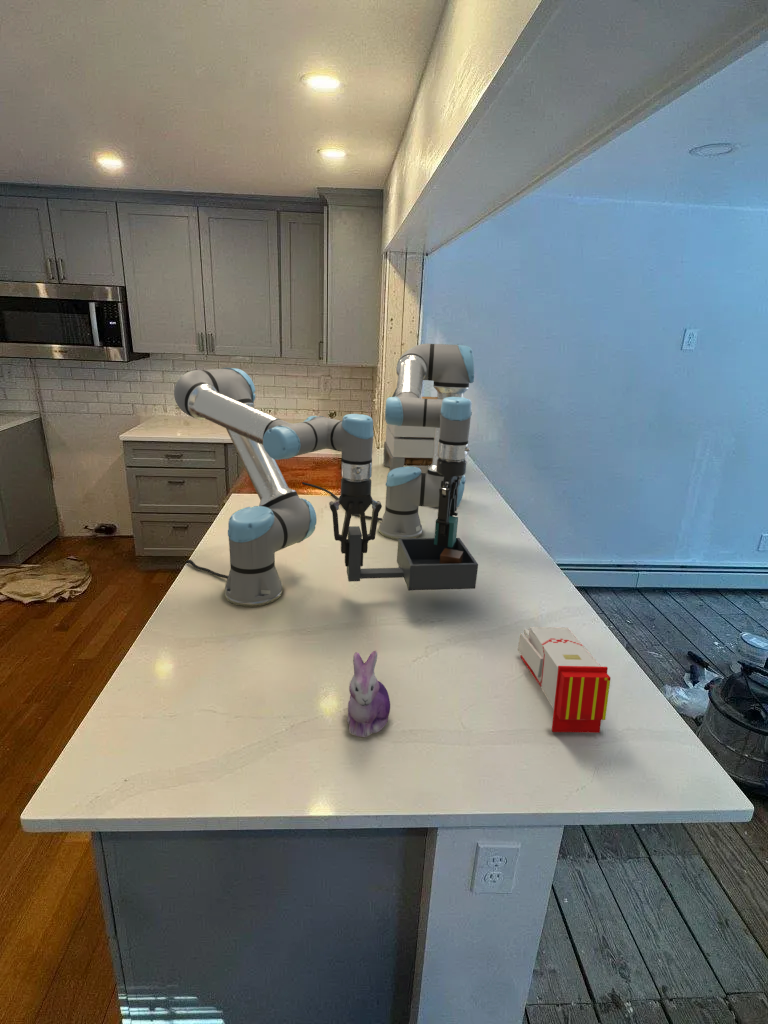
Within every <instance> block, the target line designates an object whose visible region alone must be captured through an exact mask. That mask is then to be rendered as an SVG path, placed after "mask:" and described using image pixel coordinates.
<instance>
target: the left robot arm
mask: <svg viewBox="0 0 768 1024" xmlns="http://www.w3.org/2000/svg"><path fill="white" fill-rule="evenodd" d="M255 392H256V386H255V384H254V382H253V380H252V377H250V375H248V373H247V372H246V371H244V370H242V369H240V368H235V367H221V368H213V369H197V370H195V369H194V370H191V371H187V372H185V373H184V374H183V375H181V376H180V377H179V378H178V379H177V381H176V383H175V385H174V390H173V397H174V401H175V403H176V406H178V408H179V410H181V411H182V412H183V413H184V414H185V415H187V416H189V417H191V418H193V419H196V420H198V421H205V420H207V421H209V422H211V423H214V424H215V425H217V426H220V427H221V428H225V430H226V432H227V434H228V436H229V437H230V440H231V441H232V444H233V446H234V448H235V450H236V452H237V454H238V456H239V459H240V461H241V463H242V465H243V468H244V469H245V471H246V473H247V475H248V477H249V479H250V482H251V483H252V485H253V488H254V490H255V492H256V494H257V496H258V498H259V501H260V502H259V505H254V506H252V507H251V506H246V507H243V508H241V509H238V510H237V511H235V512H234V513H232V514H231V515H230V517H229V519H228V527H227V537H228V547H229V548H228V549H229V567H230V568H229V573H228V575H227V574H223V573H220V572H219V573H218V572H217V571H213V570H212V569H209V568H207V567H202V566H199V565H197V564H196V563H195V562H194V561H193V560H192V559H187V560H186V561H185V564H187V563H188V564H190V565H191V566H192V567H193V568H194V569H196V570H199V571H203V572H207V573H209V574H211V575H213V576H216V577H219V578H222V579H226V582H225V585H224V599H225V600H226V601H228V603H231V604H233V605H236V606H239V607H248V608H249V607H250V608H251V607H261V606H265V605H269V604H271V603H273V602H275V601H277V600H278V599H280V597H282V595H283V585H282V581H281V578H280V576H279V573H278V571H277V568H276V562H275V561H276V557H275V555H276V554H275V553H277V552H279V551H280V550H283V549H286V548H287V547H290V546H293V545H295V544H300V543H302V542H303V541H304V540H306V539H308V538H310V537H311V536H312V535H313V534H314V532H315V530H316V525H317V513H316V510H315V508H314V505H313V504H312V502H310V501H308V500H307V499H306V498H303V497H302V498H301V497H300V496H299V494H298V493H297V490H295V489H293V488H290V487H289V486H288V483H287V482H286V479H285V477H284V476H283V474H282V471H281V470H280V467H279V465H278V463H277V461H281V460H289V459H292V458H295V457H299V456H302V455H305V454H309V453H313V452H318V451H322V450H331V451H336V452H341V462H340V463H341V466H340V467H341V468H340V469H341V470H340V476H341V477H342V478H341V479H340V494H339V497H338V498H339V500H335V501H332V500H331V501H329V502H328V505H329V509H330V511H331V514H332V515H331V516H332V525H333V526H332V527H333V537H334V540H335V541H338V542H340V552H341V554H344V566H345V567H347V566H348V564H349V541H348V530H349V526H350V523H351V520H352V516H353V515H352V514H359V515H360V517H359V522H360V530H361V534H362V546H361V567H363V566H364V554H367V553H368V550H369V549H368V547H369V545H368V544H369V541H374V540H375V539H376V534H377V528H378V521H379V520H378V518H379V514H380V511H381V510H382V508H383V506H382V503H381V501H379V500H377V501H376V500H374V499H373V497H372V479H371V478H372V471H373V445H374V437H375V433H374V420H373V418H372V417H371V416H370V415H367V414H362V413H360V414H359V413H347V414H345V415H343V417H342V420H339V419H335V418H330V417H326V416H323V415H319V416H317V415H309V416H308V417H306V419H305V420H303V421H299V422H294V423H291V422H288V421H286V420H283V419H281V418H278V417H277V416H274V415H271V414H269V413H267V412H265V411H262V410H260V409H258V408H255V400H256V397H257V396H256V393H255ZM276 460H277V461H276ZM340 506H341V507H342V508H343V510H344V511H345V512H344V519H343V523H342V529H341V530H342V531H341V534H340V528H339V527H340V526H339V514H338V510H339V509H340ZM370 506H371V509H372V512H371V517H372V518H371V519H370V526H369V532H368V529H367V520H366V519H367V518H365V516H366V511H367V510H368V509H369V508H370Z"/></svg>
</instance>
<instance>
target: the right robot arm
mask: <svg viewBox="0 0 768 1024" xmlns="http://www.w3.org/2000/svg"><path fill="white" fill-rule="evenodd" d="M395 368H396V369H395V370H396V371H395V372H396V376H397V382H396V388H395V390H396V394H395V397H392V396H389V397H387V398H386V401H385V411H384V421H385V423H386V425H387V424H390V425H397V426H418V427H434V428H435V435H434V449H433V463H432V464H431V465H430V466H429V465H428V466H427V472H422V469H421V468H420V467H419V466H418V467H417V466H407V465H406V466H404V467H399V468H395V469H393V470H391V471H390V470H389V471H388V473H387V475H386V482H385V487H386V488H385V489H386V490H385V504H384V505H385V507H384V508H385V509H384V513H383V515H382V517H378V521H379V525H378V533H379V534H380V535H381V536H382V537H385V538H387V539H389V540H395V541H398V538H421V536H422V535H423V525H422V524H421V518H420V515H419V507H425V508H435V507H437V518H438V519H437V518H436V519H437V521H436V520H435V524H436V523H439V529H438V542H437V545H438V546H444V547H447V546H448V537H449V525H450V523H449V516H454V517H458V514H459V513H458V512H457V510H458V507H459V506H460V505H461V502H462V500H463V496H464V493H465V492H464V491H465V484H466V476H465V474H466V472H467V471H466V470H467V460H466V459H467V457H468V452H470V451H471V448H470V447H469V436H470V427H471V420H472V419H471V417H472V413H473V412H472V411H473V410H472V406H473V405H472V404H473V403H472V400H471V399H470V398H467V397H464V394H465V393H466V392H467V391H468V390H469V389H470V384H472V383H474V382H475V358H474V350H473V349H472V347H470V346H469V345H463V344H447V343H446V344H443V343H427V342H426V343H419V344H416V345H415V346H412V347H411V348H409V349H407V350H406V351H405V352H404V353H402V354H401V356H400V357H399V359H398V361H397V364H396V367H395ZM423 381H428V382H429V381H430V382H431V381H432V382H433V385H432V386H433V388H434V389H435V391H436V393H437V395H436V397H437V399H422V397H423ZM301 483H302V485H304V486H308V487H311V488H315V489H318V490H320V491H323V492H325V493H327V494H329V495H330V496H332V497H333V498H334V499H335V501H337V500H339V497H338V496H337V495H335V494H334V493H333V492H331V491H330V490H328V489H326V488H324V487H322V486H318V485H315V484H312V483H308V482H304V481H302V482H301ZM352 516H355V517H358V518H360V515H359V514H352ZM371 518H372V515H365V519H367V520H371Z"/></svg>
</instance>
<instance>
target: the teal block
mask: <svg viewBox="0 0 768 1024" xmlns="http://www.w3.org/2000/svg"><path fill="white" fill-rule="evenodd" d="M437 519H438V517H436V518H435V526H434V537H433V538H434V545H437V542H438V529H439V523H436V521H437ZM449 523H450V525H449V537H448V546H447V547H453V545H454V543H455V542H456V538H458V536H457V534H458V526H459V525H458V524H459V517H458V516H449Z"/></svg>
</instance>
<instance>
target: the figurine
mask: <svg viewBox="0 0 768 1024" xmlns="http://www.w3.org/2000/svg"><path fill="white" fill-rule="evenodd" d="M377 660H378V651H377V650H373V651H372V652H371V653H369V656H368V657H367V660H366V661H365V662H364V660H363V658H362V657H361V655H360V653H359V652H357V651H355V652H354V654H353V659H352V663H353V675H352V677H351V680H350V682H349V686H348V687H349V688H348V690H349V694H350V696H349V700H348V703H347V717H346V721H347V725H348V732H349V734H351V735H352V736H357V737H359V738H360V737H361V738H367V737H369V736H371V735H372V734H377V733H380V732H381V731H382V730H383V728H384V727H385V726H386V725H387V723H388V721H389V716H390V712H391V700H390V695H389V691H388V689H387V688H386V687H385V685H384V684H383V682H381V681H379V680H378V678H377V676H376V674H375V669H376V665H377Z"/></svg>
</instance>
